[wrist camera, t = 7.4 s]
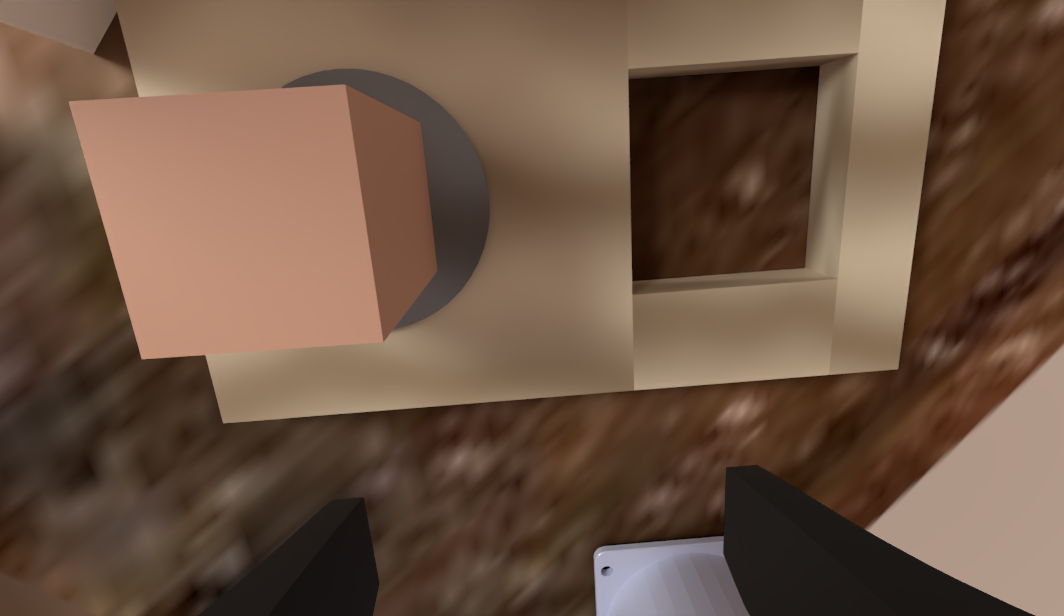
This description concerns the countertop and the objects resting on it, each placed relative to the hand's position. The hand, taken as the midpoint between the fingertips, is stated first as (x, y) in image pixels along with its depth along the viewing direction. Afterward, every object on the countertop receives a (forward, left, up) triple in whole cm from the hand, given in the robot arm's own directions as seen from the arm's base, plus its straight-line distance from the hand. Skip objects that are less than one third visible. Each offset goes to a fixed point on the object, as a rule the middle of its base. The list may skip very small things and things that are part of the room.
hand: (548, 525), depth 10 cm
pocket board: (+6, -1, -10) cm, 12 cm away
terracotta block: (+6, +5, -8) cm, 11 cm away
